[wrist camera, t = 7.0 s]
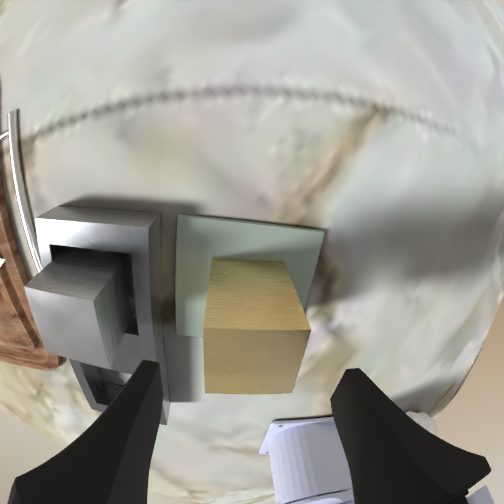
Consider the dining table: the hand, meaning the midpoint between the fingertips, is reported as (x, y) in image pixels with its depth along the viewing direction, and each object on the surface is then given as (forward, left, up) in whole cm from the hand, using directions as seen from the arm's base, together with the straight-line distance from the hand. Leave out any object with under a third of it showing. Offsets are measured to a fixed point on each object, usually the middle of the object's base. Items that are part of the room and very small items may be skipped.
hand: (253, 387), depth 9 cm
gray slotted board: (+9, +4, -8) cm, 12 cm away
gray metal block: (+9, 0, -8) cm, 11 cm away
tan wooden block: (0, 0, -7) cm, 7 cm away
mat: (0, 0, -8) cm, 8 cm away
